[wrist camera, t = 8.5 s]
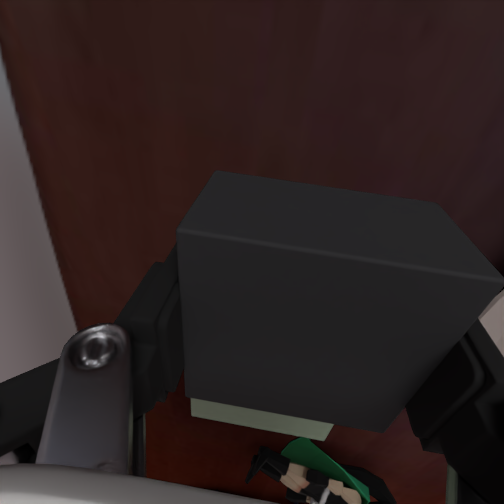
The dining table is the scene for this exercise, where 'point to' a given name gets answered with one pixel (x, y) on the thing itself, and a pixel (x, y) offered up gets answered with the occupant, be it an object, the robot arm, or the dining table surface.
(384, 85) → the dining table surface
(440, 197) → the dining table surface
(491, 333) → the plate
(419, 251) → the dark grey square block
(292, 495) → the figurine
